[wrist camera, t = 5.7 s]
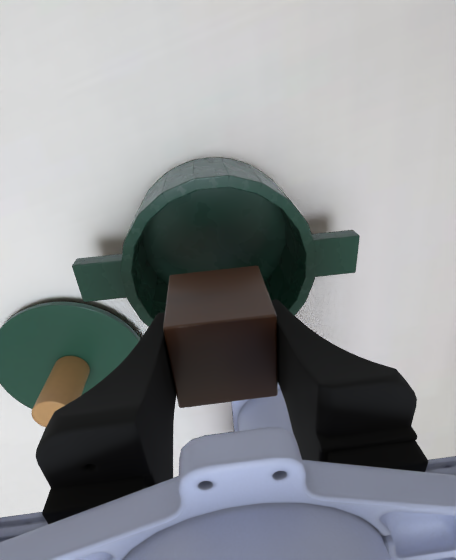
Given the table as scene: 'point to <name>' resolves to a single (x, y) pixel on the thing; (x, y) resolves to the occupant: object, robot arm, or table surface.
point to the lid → (60, 353)
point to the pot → (215, 239)
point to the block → (221, 336)
